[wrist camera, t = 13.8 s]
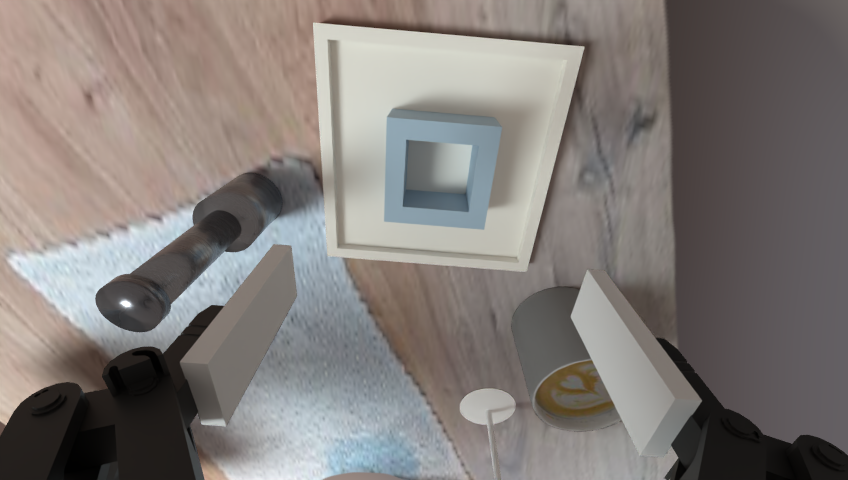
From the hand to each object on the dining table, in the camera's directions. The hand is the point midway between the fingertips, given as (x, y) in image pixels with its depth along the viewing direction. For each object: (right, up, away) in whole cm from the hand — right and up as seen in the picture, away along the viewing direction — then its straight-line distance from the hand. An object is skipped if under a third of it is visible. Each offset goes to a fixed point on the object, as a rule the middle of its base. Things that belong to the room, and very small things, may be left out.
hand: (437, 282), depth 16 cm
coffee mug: (+15, -9, +26) cm, 31 cm away
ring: (+1, +9, +16) cm, 18 cm away
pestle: (-17, +6, +18) cm, 26 cm away
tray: (+1, +9, +16) cm, 19 cm away
